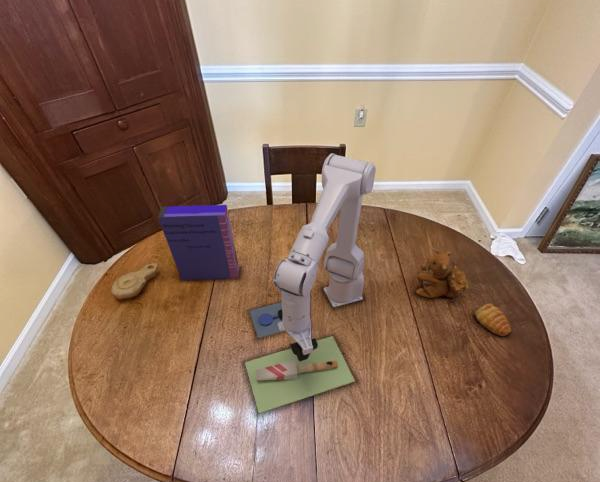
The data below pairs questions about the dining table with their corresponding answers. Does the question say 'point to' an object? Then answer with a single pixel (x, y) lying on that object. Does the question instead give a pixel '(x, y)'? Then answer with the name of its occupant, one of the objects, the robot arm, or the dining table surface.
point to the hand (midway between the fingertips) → (297, 345)
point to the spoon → (266, 319)
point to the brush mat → (298, 376)
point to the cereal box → (200, 241)
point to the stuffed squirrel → (441, 278)
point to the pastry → (493, 319)
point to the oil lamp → (133, 282)
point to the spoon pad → (272, 327)
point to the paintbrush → (291, 370)
